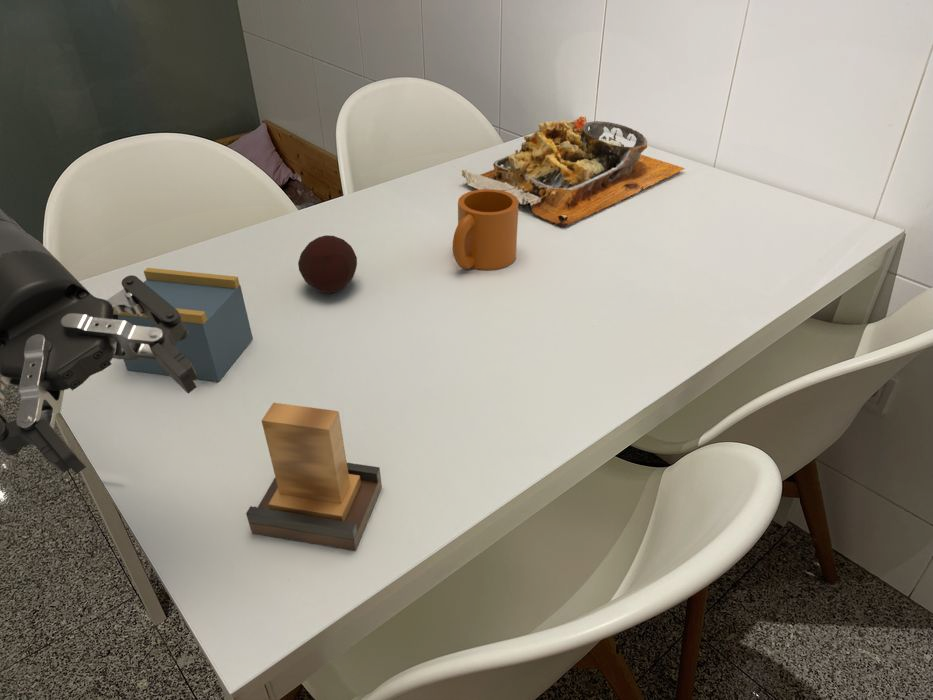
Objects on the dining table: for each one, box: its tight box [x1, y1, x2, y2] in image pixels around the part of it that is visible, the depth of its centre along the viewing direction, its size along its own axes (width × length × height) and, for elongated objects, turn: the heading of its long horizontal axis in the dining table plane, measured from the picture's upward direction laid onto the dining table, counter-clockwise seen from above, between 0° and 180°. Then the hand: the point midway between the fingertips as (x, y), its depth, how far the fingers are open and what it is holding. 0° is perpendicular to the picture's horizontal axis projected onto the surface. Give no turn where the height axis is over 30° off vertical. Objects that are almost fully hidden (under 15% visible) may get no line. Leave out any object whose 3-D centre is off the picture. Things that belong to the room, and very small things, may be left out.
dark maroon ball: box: [297, 235, 358, 294], centre depth 97 cm, size 8×9×8 cm
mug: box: [452, 189, 520, 271], centre depth 102 cm, size 9×12×9 cm
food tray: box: [461, 115, 686, 227], centre depth 127 cm, size 35×26×11 cm
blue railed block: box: [118, 267, 254, 383], centre depth 84 cm, size 12×9×9 cm
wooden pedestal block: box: [261, 402, 361, 521], centre depth 62 cm, size 7×5×10 cm
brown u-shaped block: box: [245, 462, 383, 551], centre depth 65 cm, size 10×8×3 cm
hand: (135, 423), depth 47 cm, fingers open, 8 cm apart
